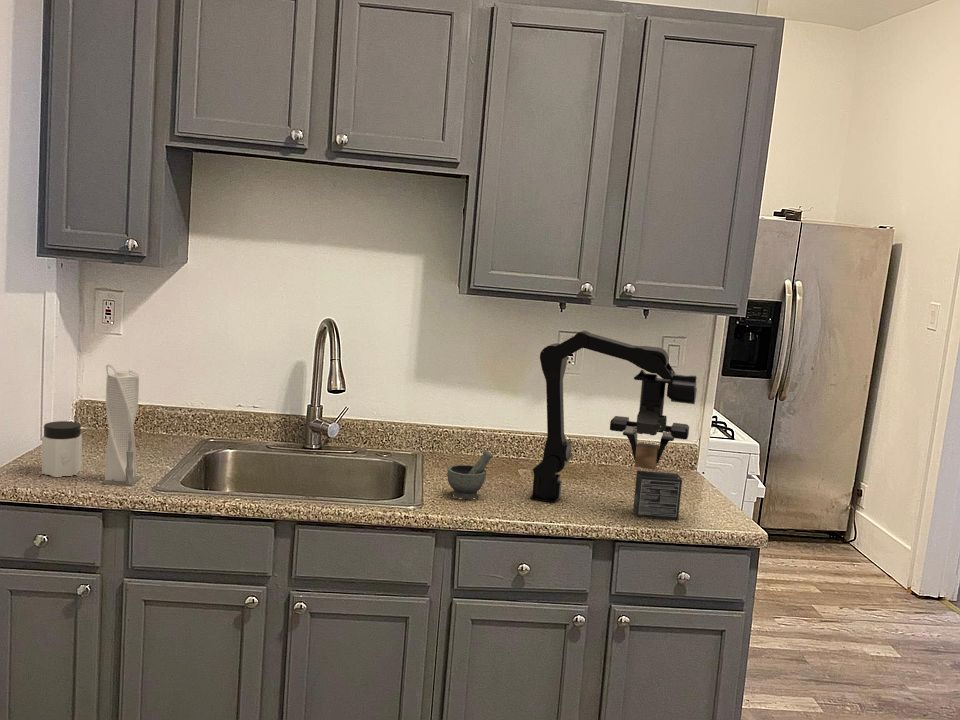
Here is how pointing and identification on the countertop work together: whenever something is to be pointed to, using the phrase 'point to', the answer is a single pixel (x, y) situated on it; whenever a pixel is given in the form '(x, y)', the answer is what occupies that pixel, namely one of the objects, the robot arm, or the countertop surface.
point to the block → (646, 455)
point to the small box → (657, 495)
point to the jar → (61, 448)
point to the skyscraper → (121, 427)
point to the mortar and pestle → (468, 477)
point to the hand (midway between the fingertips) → (646, 461)
